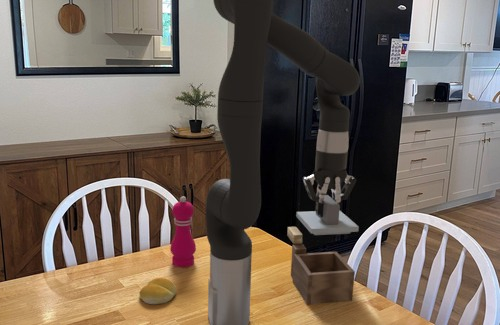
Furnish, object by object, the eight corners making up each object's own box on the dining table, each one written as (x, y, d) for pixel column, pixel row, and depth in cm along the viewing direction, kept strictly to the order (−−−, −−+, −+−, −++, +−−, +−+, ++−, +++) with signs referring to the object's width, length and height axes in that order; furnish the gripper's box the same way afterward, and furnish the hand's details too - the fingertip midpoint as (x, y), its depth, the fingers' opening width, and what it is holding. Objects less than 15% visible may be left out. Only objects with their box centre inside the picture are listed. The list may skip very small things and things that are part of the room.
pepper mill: (191, 269, 138) (191, 201, 133) (166, 266, 139) (166, 199, 134) (198, 258, 145) (199, 193, 140) (175, 255, 146) (175, 191, 141)
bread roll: (133, 301, 121) (133, 287, 120) (153, 285, 129) (153, 271, 128) (163, 309, 118) (162, 294, 117) (181, 292, 126) (181, 277, 125)
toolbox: (306, 304, 121) (308, 270, 119) (288, 275, 136) (290, 244, 134) (352, 300, 124) (355, 267, 122) (329, 272, 139) (332, 242, 136)
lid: (311, 237, 117) (313, 208, 115) (296, 219, 128) (297, 193, 127) (358, 235, 120) (360, 207, 118) (339, 218, 131) (341, 192, 129)
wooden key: (293, 243, 134) (294, 235, 133) (287, 235, 140) (287, 227, 139) (301, 243, 134) (302, 234, 134) (295, 234, 140) (295, 226, 139)
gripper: (352, 145, 124) (347, 209, 128) (299, 145, 121) (295, 211, 125) (365, 151, 117) (359, 220, 121) (309, 152, 114) (304, 222, 118)
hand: (326, 215), depth 123 cm, fingers closed on lid, 3 cm apart
